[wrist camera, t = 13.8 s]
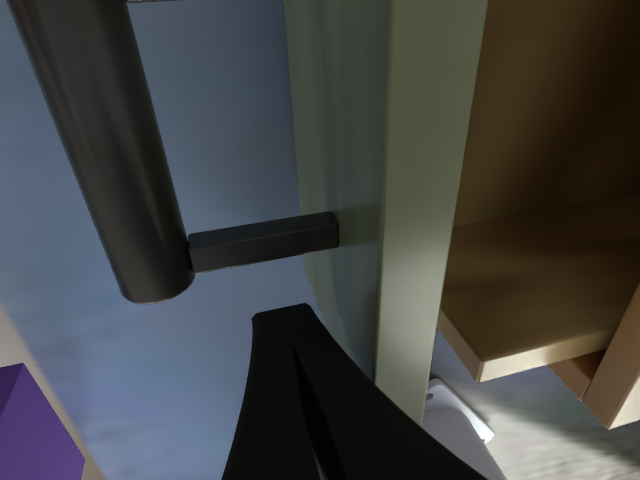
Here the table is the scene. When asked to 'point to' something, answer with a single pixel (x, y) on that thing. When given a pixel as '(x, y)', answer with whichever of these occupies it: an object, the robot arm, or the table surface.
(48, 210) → the table surface
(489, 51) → the drawer
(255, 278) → the table surface
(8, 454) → the purple box
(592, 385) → the cabinet
